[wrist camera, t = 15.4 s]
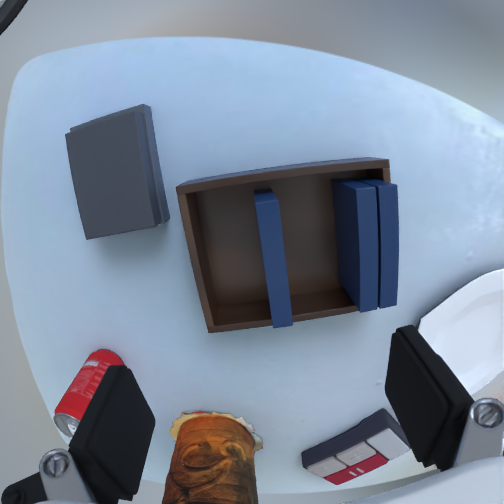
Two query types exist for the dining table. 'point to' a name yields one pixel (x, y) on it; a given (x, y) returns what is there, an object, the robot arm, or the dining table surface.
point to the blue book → (273, 256)
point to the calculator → (357, 449)
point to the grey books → (117, 173)
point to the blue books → (367, 240)
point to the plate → (470, 330)
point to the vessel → (212, 460)
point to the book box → (249, 245)
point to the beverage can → (83, 390)
